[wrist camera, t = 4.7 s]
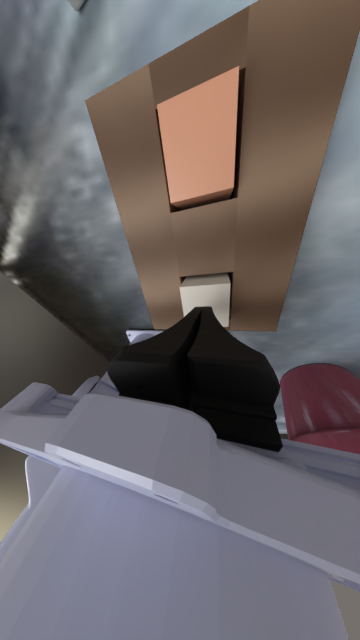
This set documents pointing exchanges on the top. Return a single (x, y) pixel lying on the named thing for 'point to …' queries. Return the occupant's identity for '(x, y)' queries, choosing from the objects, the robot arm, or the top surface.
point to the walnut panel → (250, 154)
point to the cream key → (207, 294)
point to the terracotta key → (201, 141)
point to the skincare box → (76, 4)
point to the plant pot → (322, 406)
